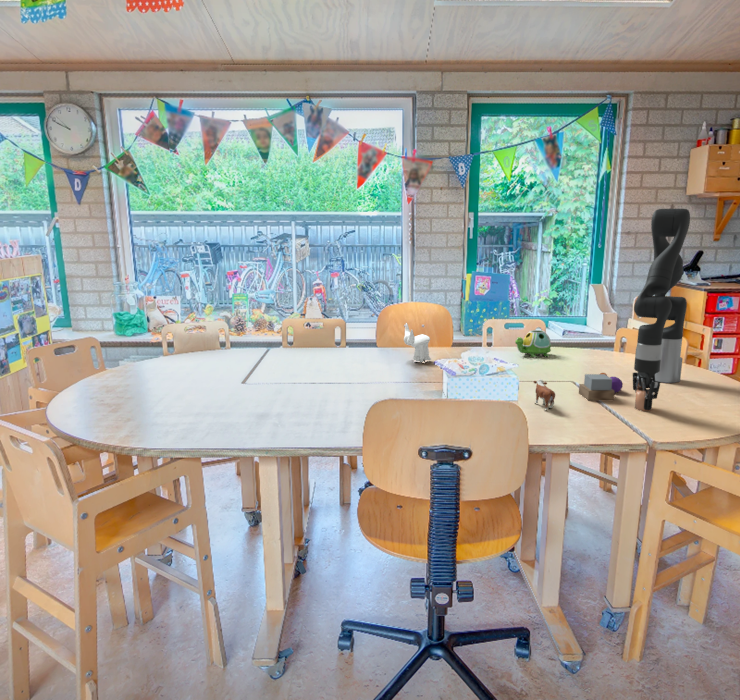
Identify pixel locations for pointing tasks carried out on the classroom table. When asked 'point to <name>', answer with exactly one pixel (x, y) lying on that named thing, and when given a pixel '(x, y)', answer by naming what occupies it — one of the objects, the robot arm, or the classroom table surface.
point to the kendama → (615, 383)
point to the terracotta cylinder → (640, 400)
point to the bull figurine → (544, 393)
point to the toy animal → (417, 344)
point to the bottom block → (596, 393)
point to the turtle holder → (534, 343)
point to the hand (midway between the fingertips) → (643, 406)
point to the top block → (598, 382)
